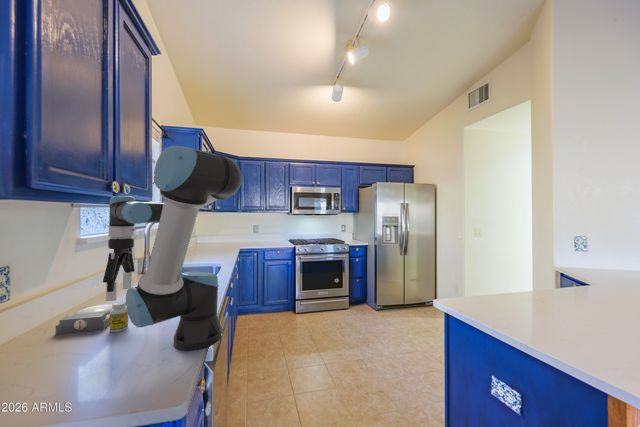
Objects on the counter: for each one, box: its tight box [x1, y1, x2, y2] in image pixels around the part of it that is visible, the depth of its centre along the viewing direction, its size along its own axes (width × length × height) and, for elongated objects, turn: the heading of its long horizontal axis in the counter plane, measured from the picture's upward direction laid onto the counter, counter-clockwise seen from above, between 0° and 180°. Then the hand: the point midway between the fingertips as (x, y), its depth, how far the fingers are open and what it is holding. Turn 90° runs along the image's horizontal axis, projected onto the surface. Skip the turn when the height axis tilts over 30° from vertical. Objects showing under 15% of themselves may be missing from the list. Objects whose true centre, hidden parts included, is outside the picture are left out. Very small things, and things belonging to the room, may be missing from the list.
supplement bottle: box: [109, 301, 129, 333], centre depth 95 cm, size 5×5×10 cm
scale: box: [55, 304, 113, 335], centre depth 100 cm, size 18×14×5 cm
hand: (119, 294), depth 95 cm, fingers open, 13 cm apart
